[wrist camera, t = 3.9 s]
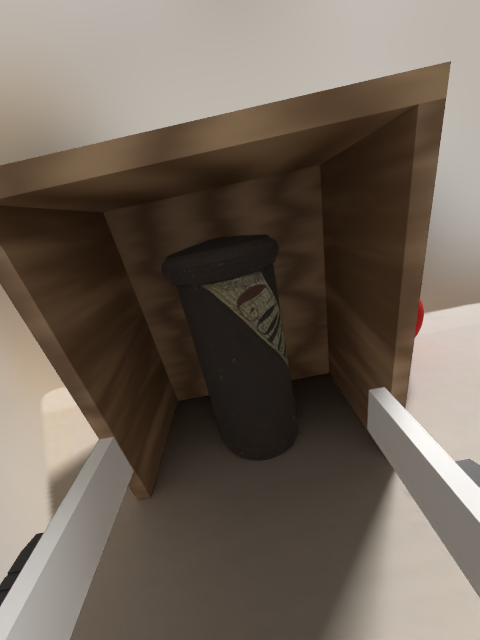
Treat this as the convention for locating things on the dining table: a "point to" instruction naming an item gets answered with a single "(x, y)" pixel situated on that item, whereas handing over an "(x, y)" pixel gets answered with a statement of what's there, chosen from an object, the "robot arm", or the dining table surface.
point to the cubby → (221, 221)
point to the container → (239, 339)
